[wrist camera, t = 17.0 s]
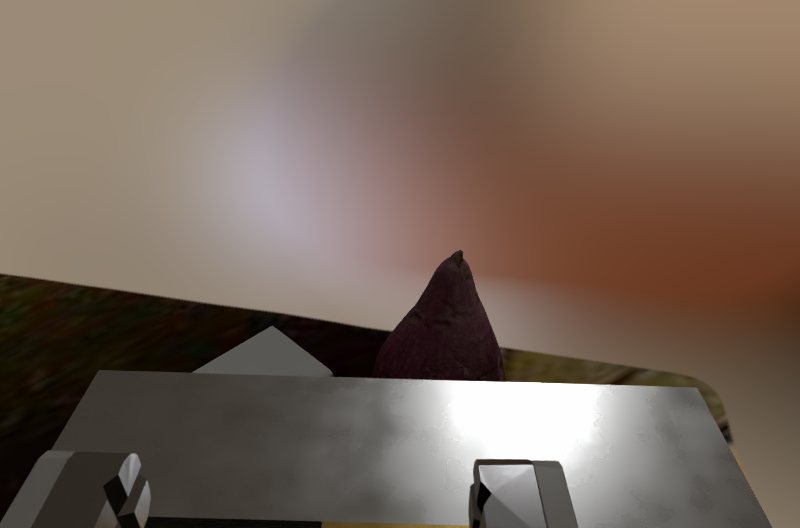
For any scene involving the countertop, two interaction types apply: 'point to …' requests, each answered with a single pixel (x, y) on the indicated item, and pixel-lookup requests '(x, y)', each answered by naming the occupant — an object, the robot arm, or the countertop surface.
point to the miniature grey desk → (406, 449)
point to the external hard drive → (267, 358)
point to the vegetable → (444, 333)
